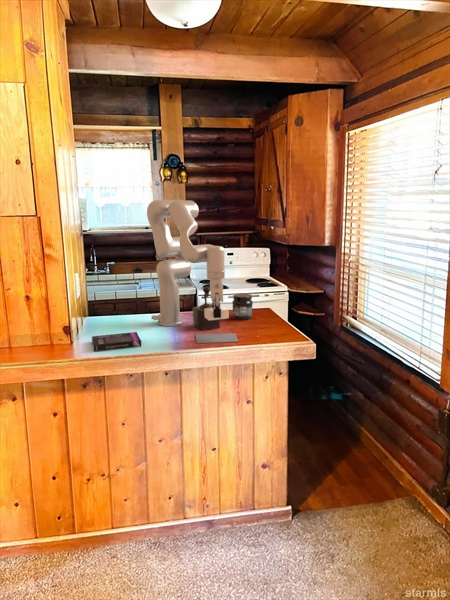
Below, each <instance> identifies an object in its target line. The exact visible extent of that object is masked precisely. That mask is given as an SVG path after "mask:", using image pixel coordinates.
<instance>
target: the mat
mask: <svg viewBox="0 0 450 600" xmlns="http://www.w3.org/2000/svg"><path fill="white" fill-rule="evenodd" d="M195 340H196V341H195V342H196V344H197V345H198V344H201V345H202V344H224V343H225V344H227V343H228V344H230V343H239V340H238V337H237V334H236V332H233V333H231V332H229V333H228V332H227V333H206V334H205V333H204V334H203V333H202V334H199V333H198V334H195Z"/></svg>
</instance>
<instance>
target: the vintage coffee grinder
mask: <svg viewBox="0 0 450 600" xmlns="http://www.w3.org/2000/svg"><path fill="white" fill-rule="evenodd" d="M202 292H203V293H204V294H203V295H204V296H201V297H200V298H201V299H204V303H203V304H201V305H199V306H194V307H192V321H193V322H192V324H193V327H195V328H196V329H197V330H199V331H209V330H216V329H220V328H221V324H220V323H221V321H220V320H221V319H218V320H210V321H209V320H208V319H206V318H205V313H204V309H205V308H212V305H213V302H212V303H208V300H207V298H208V297H209V296H210V297H211V294H210V286H204V287H203V288H202Z"/></svg>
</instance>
